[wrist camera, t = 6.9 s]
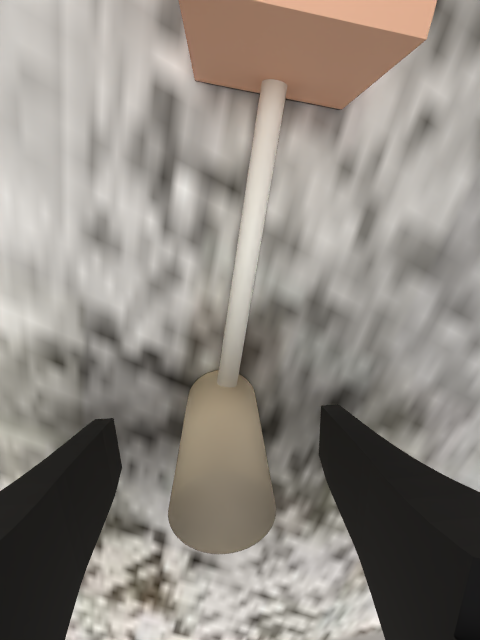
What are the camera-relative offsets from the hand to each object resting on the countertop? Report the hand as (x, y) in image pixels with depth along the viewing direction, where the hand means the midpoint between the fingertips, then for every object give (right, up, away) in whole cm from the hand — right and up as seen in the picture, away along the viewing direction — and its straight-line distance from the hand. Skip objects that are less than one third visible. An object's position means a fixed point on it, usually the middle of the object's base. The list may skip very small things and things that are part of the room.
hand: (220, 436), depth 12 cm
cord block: (+1, +7, -1) cm, 7 cm away
